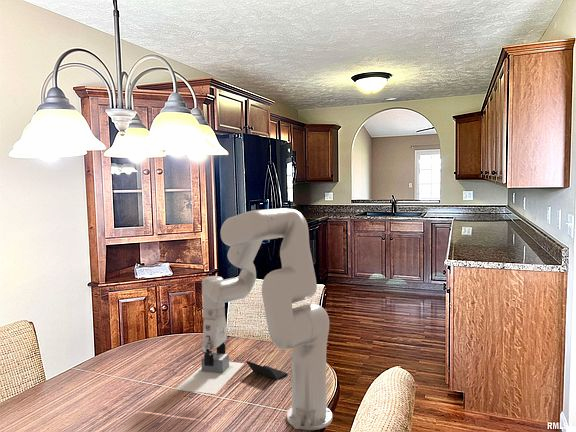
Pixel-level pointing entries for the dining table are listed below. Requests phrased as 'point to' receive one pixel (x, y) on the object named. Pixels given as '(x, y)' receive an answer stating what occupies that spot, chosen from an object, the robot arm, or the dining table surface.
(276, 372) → the handheld gaming console
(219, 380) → the mat
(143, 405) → the dining table surface
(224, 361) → the card box
